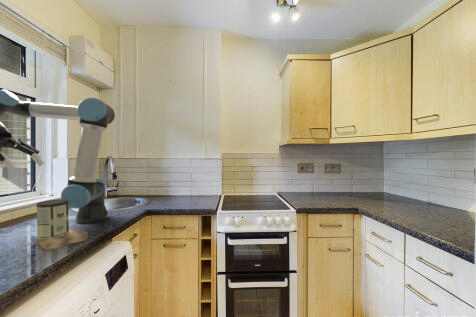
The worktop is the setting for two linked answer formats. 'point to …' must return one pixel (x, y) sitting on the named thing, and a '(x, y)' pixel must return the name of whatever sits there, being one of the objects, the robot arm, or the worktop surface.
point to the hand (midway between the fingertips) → (27, 165)
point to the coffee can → (52, 219)
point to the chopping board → (62, 239)
